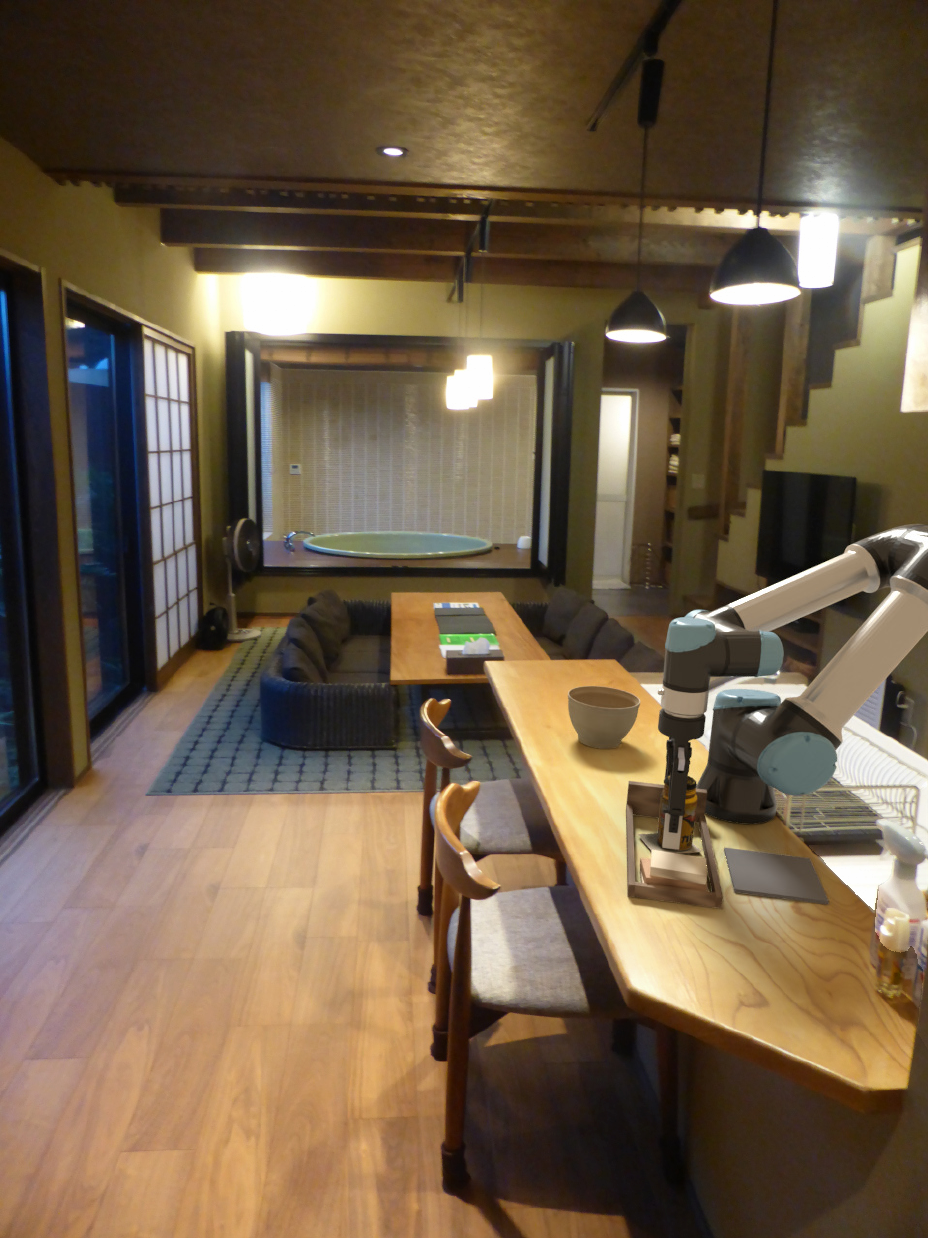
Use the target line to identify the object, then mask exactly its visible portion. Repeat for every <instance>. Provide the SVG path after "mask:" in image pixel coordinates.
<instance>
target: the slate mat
mask: <svg viewBox="0 0 928 1238" xmlns="http://www.w3.org/2000/svg"><path fill="white" fill-rule="evenodd" d="M723 852H724V857H725V856H726V857H725V860H726V859H727V861H726V865H727V864H728V865H727V869H728V868H729V869H728V872H729V876H730V881H731V884H732V888H733V889H732V890H733V892H734V893H735V894H744V895H752V896H759V897H767V898H772V899H773V898H774V899H780V900H781V899H783V900H790V901H798V902H804V903H814V904H820V905H826V906H827V905H828V906H829V905H830V904H829V903H830V900H829V898H828V896H827V892H826V891H825V889H824V887H823V885H822V882H821V880H820V878H819V876H818V874H817V871H816V869H815V867H814V864H813V862H812V860H811V857H805V856H795V855H788V854H780V853H772V852H764V851H757V850H748V849H740V848H732V847H726V846H725V847H724V848H723Z"/></svg>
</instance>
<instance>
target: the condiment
mask: <svg viewBox="0 0 928 1238" xmlns="http://www.w3.org/2000/svg"><path fill="white" fill-rule="evenodd" d="M664 779H665V778H664ZM669 782H670V775H668V776H667V777H666V779H665V785H664V784H663V785H664V790H663V791H662V793H661V800H660V810H659V818H658V822H657V832H653V833H651V832H650V833H638V834H637V835H638V836H639V838H640V839H641V840H642V842H643V843H644V844H645V845H646V847H647V848H649V849H650V852H652V850H658V851H664V852H670V853H677V854H692V853H700V852H702V850H701V849H700V848H699V847H698V846H696V844H695V843H693V840H694V833H695V830H694V829H695V824H696V823H695V815H696V806H697V795H696V794H695V793H696V786H697V784H698V783H697V781H696V779H694V778H693V777H691V776H690V775H688V780H687V790H686V800H685V810H684V811H685V814H684V816H683V817H682V826H681V836H680V845H679V850H678V849H669V848H663V847H662V844H663V835H664V825H665V815H666V813H663V809H667V808H668V795H669Z"/></svg>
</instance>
